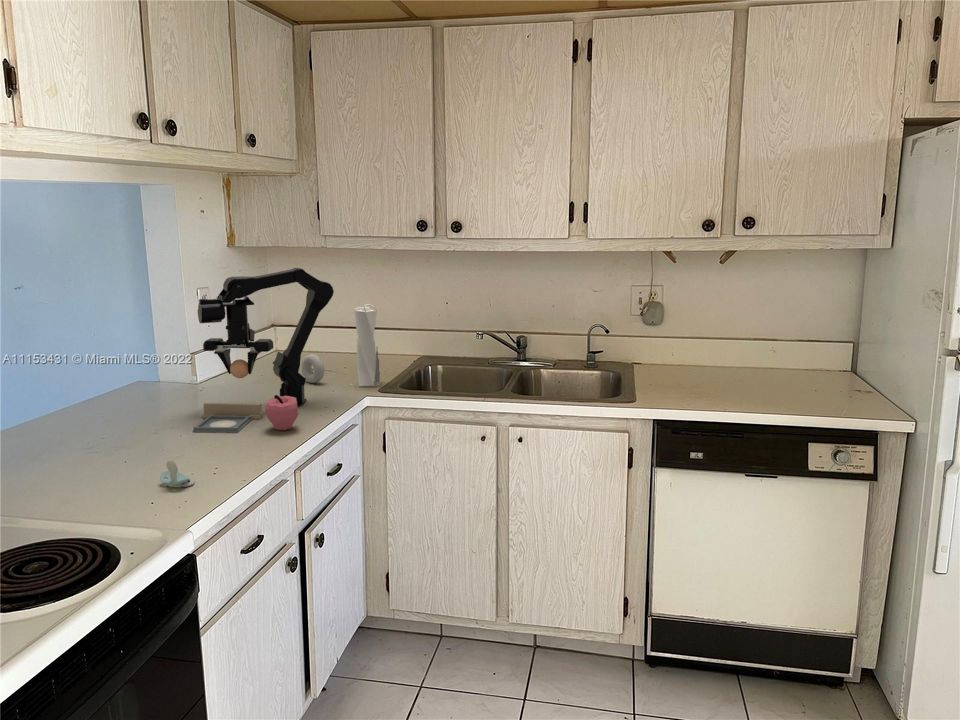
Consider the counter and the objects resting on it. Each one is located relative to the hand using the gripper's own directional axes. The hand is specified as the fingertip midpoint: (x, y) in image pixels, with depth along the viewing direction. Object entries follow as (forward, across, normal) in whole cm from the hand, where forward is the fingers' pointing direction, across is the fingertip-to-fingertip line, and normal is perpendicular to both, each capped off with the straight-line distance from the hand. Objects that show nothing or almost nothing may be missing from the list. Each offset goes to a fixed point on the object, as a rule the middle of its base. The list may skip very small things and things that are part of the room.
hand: (240, 373), depth 211 cm
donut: (+11, -13, -34) cm, 38 cm away
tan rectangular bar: (+11, 0, +8) cm, 14 cm away
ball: (-2, 0, 0) cm, 2 cm away
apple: (+11, -17, +18) cm, 27 cm away
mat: (+11, 0, +16) cm, 19 cm away
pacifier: (+11, -6, +58) cm, 60 cm away
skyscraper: (+11, -32, -32) cm, 47 cm away
